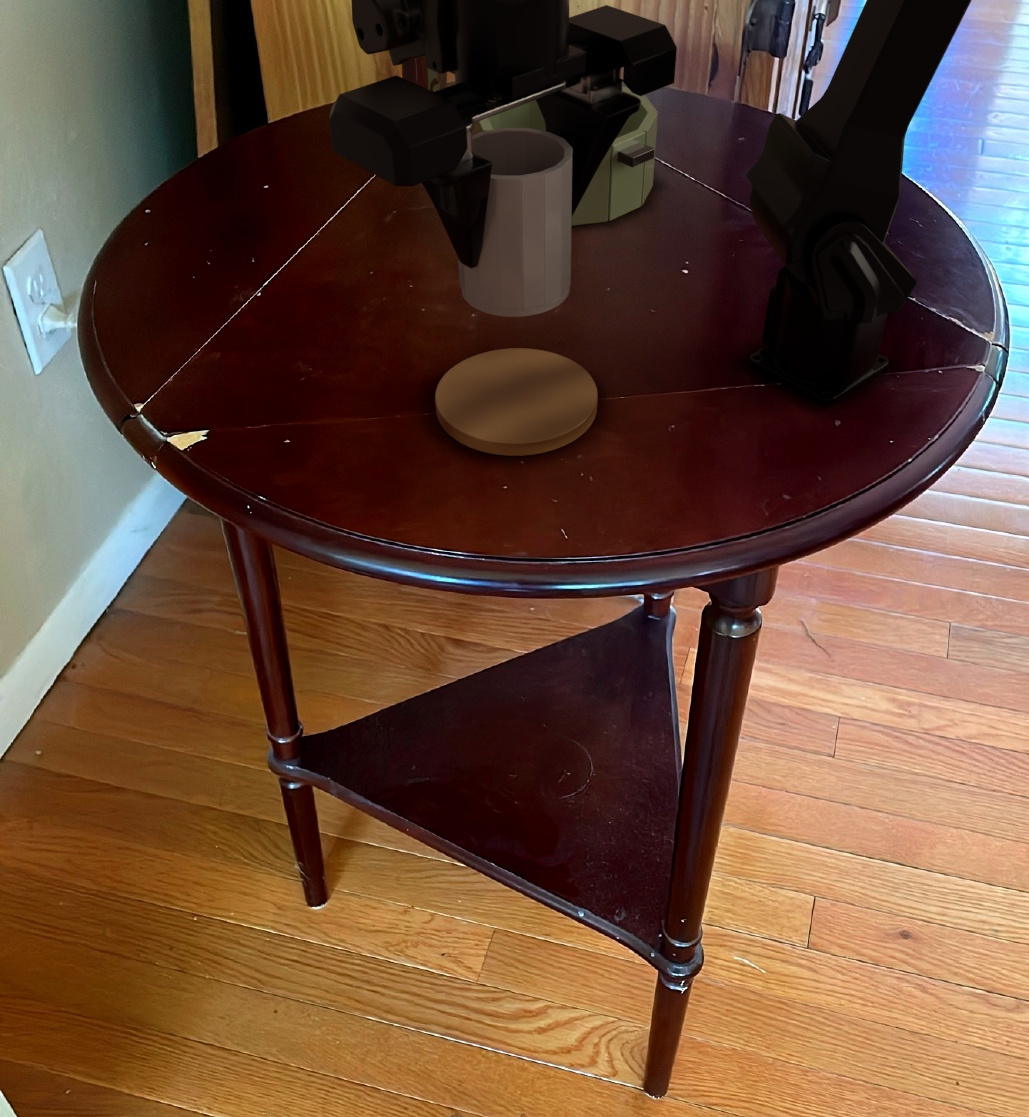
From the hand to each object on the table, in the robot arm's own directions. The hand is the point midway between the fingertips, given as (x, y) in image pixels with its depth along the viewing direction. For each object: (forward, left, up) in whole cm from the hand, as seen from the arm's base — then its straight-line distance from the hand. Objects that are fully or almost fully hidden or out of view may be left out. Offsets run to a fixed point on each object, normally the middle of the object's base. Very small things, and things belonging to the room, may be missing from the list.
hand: (515, 244), depth 62 cm
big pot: (+20, -23, -11) cm, 32 cm away
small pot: (0, 0, -3) cm, 3 cm away
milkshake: (+36, -21, -11) cm, 43 cm away
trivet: (0, 0, -11) cm, 11 cm away
